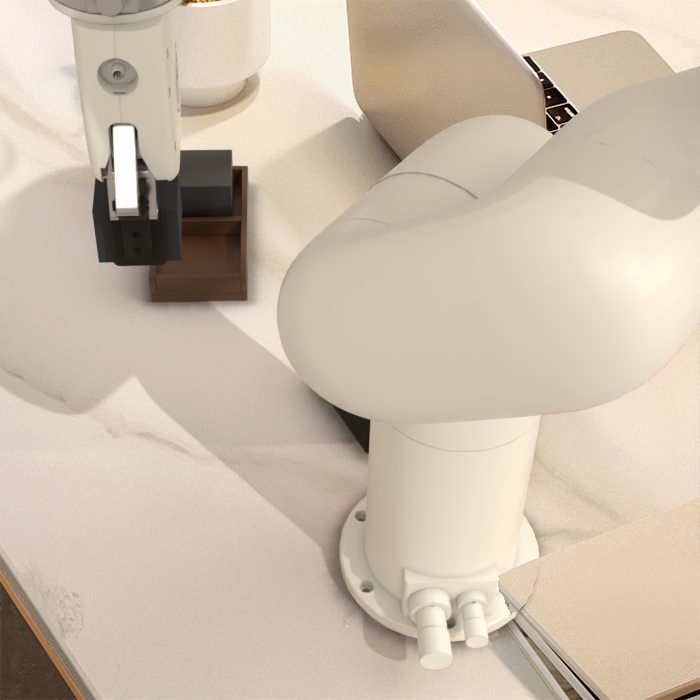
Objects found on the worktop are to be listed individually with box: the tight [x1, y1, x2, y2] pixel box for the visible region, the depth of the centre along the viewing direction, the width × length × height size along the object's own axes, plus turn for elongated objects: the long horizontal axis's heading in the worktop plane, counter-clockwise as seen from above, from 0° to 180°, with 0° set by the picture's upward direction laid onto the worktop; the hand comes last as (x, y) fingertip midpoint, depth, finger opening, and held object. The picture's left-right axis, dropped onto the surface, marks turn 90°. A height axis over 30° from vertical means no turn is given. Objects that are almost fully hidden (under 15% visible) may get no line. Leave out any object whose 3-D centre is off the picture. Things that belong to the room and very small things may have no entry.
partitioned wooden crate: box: [148, 149, 250, 303], centre depth 102 cm, size 14×7×5 cm, turn 3°
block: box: [91, 160, 182, 264], centre depth 78 cm, size 5×5×4 cm
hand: (141, 230), depth 79 cm, fingers closed on block, 5 cm apart
